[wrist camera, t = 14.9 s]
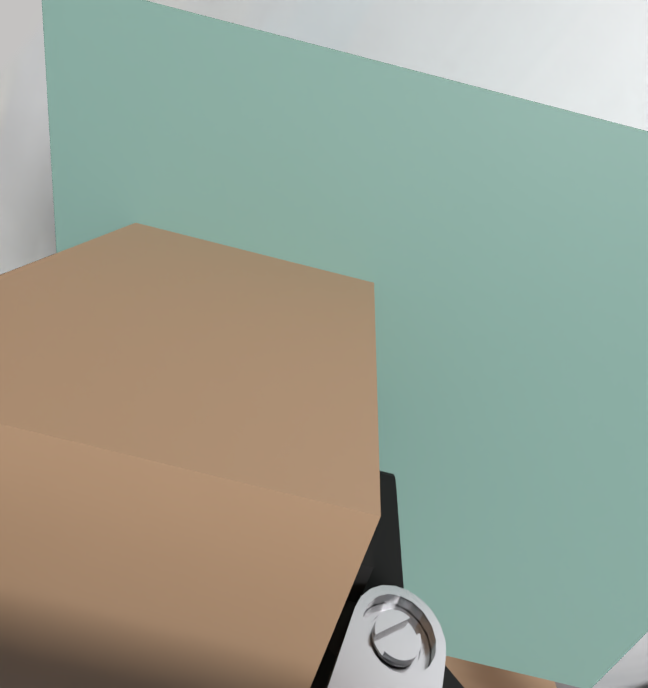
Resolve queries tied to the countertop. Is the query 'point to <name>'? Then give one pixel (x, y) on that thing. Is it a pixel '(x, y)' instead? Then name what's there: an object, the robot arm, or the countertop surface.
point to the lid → (316, 363)
